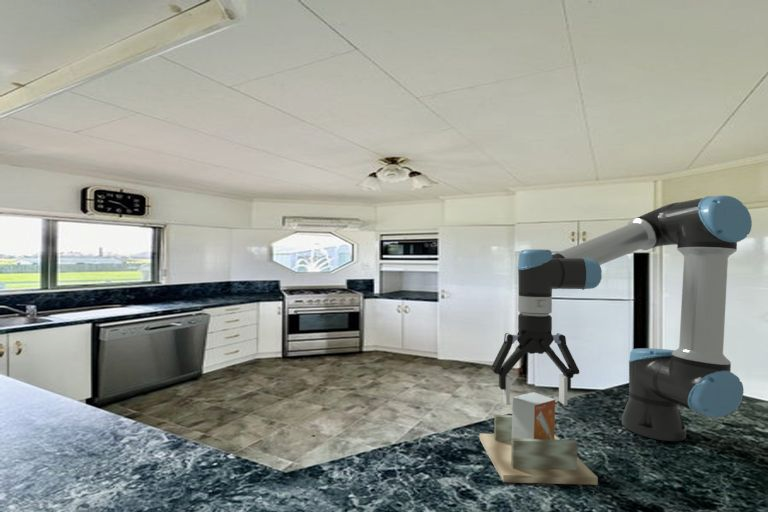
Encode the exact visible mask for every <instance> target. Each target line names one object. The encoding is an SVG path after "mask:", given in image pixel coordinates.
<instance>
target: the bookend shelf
mask: <svg viewBox="0 0 768 512" xmlns="http://www.w3.org/2000/svg"><path fill="white" fill-rule="evenodd" d="M493 422H494V423H493V426H494V427H493V429H494V430H493V433H479V441H480V442H481V444H482V446H483V448H484V450H485V452H486V453H487V456H488V457H489V459H490V461H491V463H492V464H493V466H494V468H495V471H497V473H498V475H499V477H500V480H501V481H502V482H503V483H514V484H515V483H519V484H520V483H521V484H523V483H524V484H525V483H526V484H554V485H555V484H557V485H560V484H561V485H589V484H590V486H592V485H594V486H595V485H596V486H597V485H599V484H598V476H597V475H596V474H595V473H594V472H593V471H592V470H591V469H590V468H589V467H588V466H586V464H585V463H584V462H583V461H582V460H581V459H580V458H579V457H578V442H577V441H576V440H575V439H560V438H558V436H556V435H555V434H554V439H521V438H512V415H509V414H508V415H507V414H495V415H494V421H493ZM511 443H512V450H511Z"/></svg>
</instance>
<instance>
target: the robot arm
mask: <svg viewBox="0 0 768 512" xmlns="http://www.w3.org/2000/svg"><path fill="white" fill-rule="evenodd" d="M752 225H753V222H752V216H751V213H750V211H749V210H748V207H747V206H746V205H744V204H743V202H742V201H740V200H739V199H737V198H736V197H734V196H731V195H714V196H705V197H702V198H696V199H690V200H685V201H679V202H672V203H669V204H666V205H663V206H660V207H659V208H656V209H653V210H651V211H649V212H647V213H645V214H643V215H640V216H638V217H635V218H633V219H631V220H629V221H628V223H627V225H624V226H622V227H619V228H617V229H615V230H612V231H609V232H607V233H604V234H601V235H599V236H597V237H593V238H592V239H589V240H586V241H584V242H581V243H578V244H576V245H574V246H571V247H568V248H565V249H564V250H561V251H558V252H556V253H554V254H553V253H552V250H550V249H542V248H541V249H537V248H535V249H534V248H533V249H523V250H520V252H519V253H518V263H517V271H518V272H517V276H518V277H517V278H518V279H517V282H518V283H517V284H518V288H517V289H518V298H517V300H518V301H517V302H518V304H517V305H518V306H517V311H518V312H519V313H518V315H517V329H518V331H517V334H510V333H509V332H506V333H504V339H503V343H502V345H501V347H500V348H499V351H498V353H497V355H496V357H495V359H494V361H493V363H492V364H491V367H490V370H491V371H492V372H493V373H494V374H495V375H498V387H499V389H500V390H502V401H503V403H504V404H505V405H506V406H510V405H511V404H510V402H511V401H510V400H511V399H510V395H511V394H510V391H511V389H510V385H511V384H510V382H511V381H510V379H511V378H510V376H509V375H508V374H509V373H510V371H511V370H512V369H513V368H514V367H515V365H517V363H518V362H519V361H520V360H521V358H523V356H525V355H526V354H527V353H528V354H531V355H532V354H540V355H542V354H544V353H545V354H546V355H547V356H548V357H549V358H550V360H551V361H552V362H553V364H555V366H556V367H557V369H559V371H561V373H558V402H559V403H561V404H562V405H564V406H568V391H571V389H572V378H574V375H579V374H580V370H579V368H578V365H577V363H576V361H575V360H574V358H573V355H572V353H571V350H570V349H569V347H568V345H567V338H566V335H564V334H561V333H559V332H557V333H556V334H553V333H552V330H553V328H552V327H553V318H552V316H551V315H550V314H551V313H552V311H553V309H552V307H553V303H552V302H553V301H552V300H553V297H552V296H553V290H557V289H558V290H560V289H562V290H582V291H583V290H584V291H585V290H590V289H595V288H597V287H598V286H599V284H600V283H601V280H602V278H603V276H602V267H601V265H605V264H606V263H609V262H611V261H613V260H616V259H619V258H621V257H624V256H626V255H629V254H631V253H634V252H637V251H639V250H642V251H648V250H651V249H654V248H656V247H657V248H658V247H661V246H662V247H663V246H672V245H673V246H674V245H676V246H677V249H676V250H677V251H678V252H679V253H681V254H682V255H683V271H682V291H681V293H682V294H681V306H680V307H681V310H680V323H679V324H680V328H679V329H680V330H679V344H678V345H679V346H678V348H677V349H676V350H675V349H674V350H673V349H667V348H666V349H665V348H663V349H662V348H649V347H648V348H646V347H645V348H644V347H643V348H641V347H640V348H639V347H638V348H634V349H632V350H630V353H629V360H628V379H629V380H628V383H629V384H628V387H629V389H628V393H629V394H628V399H627V402H626V405H625V408H624V410H623V412H622V414H621V425H622V426H623V427H624V428H625V429H627V430H628V431H631V432H632V433H635V434H637V435H639V436H643V437H646V438H650V439H653V440H658V441H659V440H660V441H665V442H681V441H684V440H686V439H687V428H686V425H685V422H684V419H683V417H682V414H681V410H680V409H679V408H680V407H684V408H687V409H688V410H691V411H692V412H694V413H697V414H701V415H704V416H707V417H711V418H723V417H725V416H728V415H730V414H732V413H733V412H734V411H735V410H737V408H738V407H739V405H741V402H742V400H743V396H744V384H743V382H742V381H740V380H741V379H740V378H739V376H737V375H736V374H735V373H733V372H732V371H731V369H732V368H731V367H732V362H731V361H730V360H729V359H728V358H727V357H726V356H725V354H724V342H725V341H724V340H725V339H724V338H725V323H726V322H725V319H726V306H727V305H726V304H727V301H726V300H727V299H726V298H727V284H728V282H727V281H728V280H727V279H728V262H729V261H728V260H729V257H730V256H731V255H733V254H734V253H736V252H737V249H738V243H740V242H741V241H743V240H745V239H746V238H747V237H748V235H750V233H751V232H752ZM516 341H517V342H518V345H517V346H516V348H515V350H513V352H512V354H511V355H510V356H509V357H508V358H507V356H508V354H509V352H510V350H511V349H512V346H513V344H515V342H516ZM553 341H554V343H555V344H557V347H558V349H559V351H560V354H561V355H562V357H563V359H564V361H565V364H566V365H567V366H566V365H565V364H564V362H563V361H562V360H561V359H560V357H559V356H558V355H557V353H555V351H554V350H553V348H552V347H551V344H552V343H553ZM679 406H680V407H679Z"/></svg>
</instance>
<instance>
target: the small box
mask: <svg viewBox="0 0 768 512" xmlns="http://www.w3.org/2000/svg"><path fill="white" fill-rule="evenodd" d="M511 405H512V412H511V413H512V438H521V439H554V435H555V425H556V424H555V420H556V399H555V398H552V397H549V396H546V395H543V394H540V393H538V392H536V391H535V392H534V391H533V392H528V393H523V394H520V395H515V396H513V397H512V404H511ZM511 450H512V443H511Z"/></svg>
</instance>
